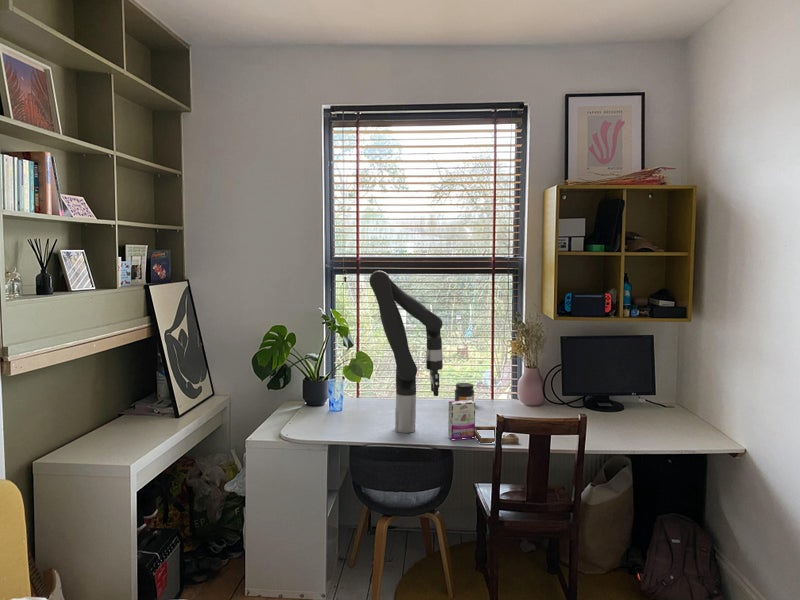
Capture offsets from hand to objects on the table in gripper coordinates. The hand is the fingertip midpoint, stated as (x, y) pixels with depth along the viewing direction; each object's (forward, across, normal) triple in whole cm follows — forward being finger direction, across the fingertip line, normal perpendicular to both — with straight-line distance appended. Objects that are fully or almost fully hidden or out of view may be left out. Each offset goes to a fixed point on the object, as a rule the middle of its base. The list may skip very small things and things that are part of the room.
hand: (434, 393), depth 252 cm
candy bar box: (+18, +11, +10) cm, 23 cm away
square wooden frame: (+18, +11, +25) cm, 33 cm away
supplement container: (+18, -41, +21) cm, 49 cm away
